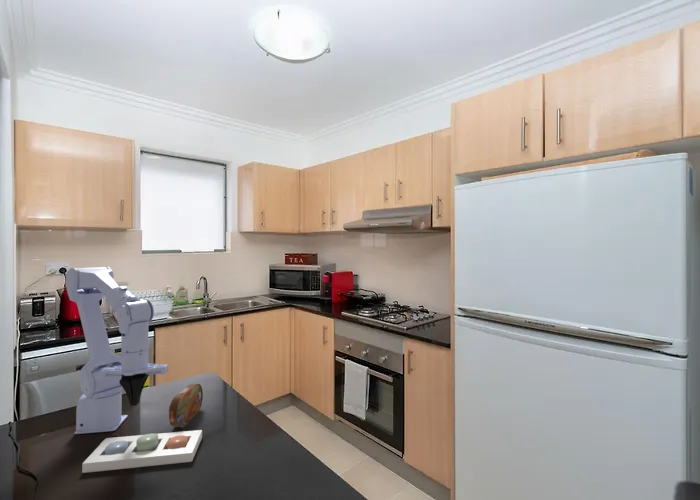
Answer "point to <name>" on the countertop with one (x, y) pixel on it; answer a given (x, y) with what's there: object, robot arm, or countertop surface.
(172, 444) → the terracotta button
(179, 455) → the button panel
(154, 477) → the countertop surface
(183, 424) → the tin
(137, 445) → the sage button
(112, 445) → the slate button
